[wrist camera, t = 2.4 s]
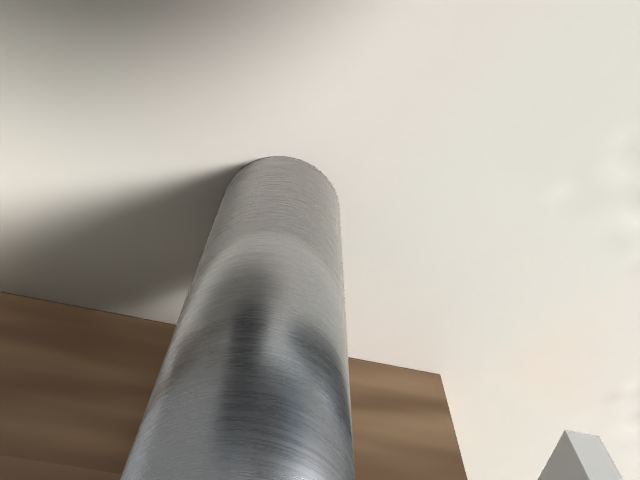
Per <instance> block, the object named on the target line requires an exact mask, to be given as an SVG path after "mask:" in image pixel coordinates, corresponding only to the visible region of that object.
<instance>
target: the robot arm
mask: <svg viewBox="0 0 640 480" xmlns="http://www.w3.org/2000/svg"><path fill="white" fill-rule="evenodd" d="M538 480H623V478H622V476H621V475H620V473H619V471H618V469H617V467H616V466H615V464H614V462H613V460H612V458H611V457H610V455H609V453H608V451H607V449H606V448H605V446H604V444H603V442H602V440H601V439H600V437H599V436H596V435H590V434H584V433H579V432H573V431H568V430H565V431H564V433H563V435H562V437H561V438H560V440H559V442H558V444H557V446H556V447H555V449H554V451H553V453H552V455H551V457H550V458H549V460H548V462H547V464H546V466H545V468H544V469H543V471H542V473H541V475H540V477H539V478H538Z"/></svg>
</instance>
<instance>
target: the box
mask: <svg viewBox="0 0 640 480" xmlns="http://www.w3.org/2000/svg"><path fill="white" fill-rule="evenodd" d="M175 328H176V325H172V324H167V323H162V322H156V321H151V320H146V319H140V318H135V317H130V316H124V315H119V314H114V313H108V312H103V311H98V310H92V309H87V308H82V307H76V306H71V305H66V304H60V303H55V302H50V301H44V300H39V299H34V298H28V297H23V296H18V295H12V294H7V293H2V292H0V480H120V478H121V476H122V473H123V470H124V468H125V465H126V462H127V459H128V457H129V454H130V451H131V448H132V446H133V443H134V440H135V437H136V435H137V432H138V429H139V426H140V424H141V421H142V418H143V415H144V413H145V410H146V407H147V404H148V402H149V399H150V396H151V393H152V391H153V388H154V385H155V382H156V380H157V377H158V374H159V371H160V369H161V366H162V363H163V360H164V358H165V355H166V352H167V349H168V347H169V344H170V341H171V339H172V336H173V333H174V330H175ZM348 367H349V384H350V402H351V419H352V436H353V454H354V471H355V480H467V476H466V472H465V469H464V465H463V461H462V457H461V453H460V449H459V445H458V442H457V438H456V434H455V430H454V426H453V422H452V418H451V415H450V411H449V407H448V403H447V399H446V395H445V391H444V388H443V384H442V380H441V376H440V375H438V374H433V373H428V372H423V371H417V370H412V369H407V368H401V367H396V366H391V365H385V364H380V363H375V362H369V361H364V360H359V359H353V358H348Z"/></svg>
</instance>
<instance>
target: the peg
mask: <svg viewBox="0 0 640 480" xmlns="http://www.w3.org/2000/svg"><path fill="white" fill-rule="evenodd" d="M120 480H355V471H354V454H353V436H352V419H351V402H350V384H349V367H348V349H347V332H346V314H345V297H344V280H343V262H342V245H341V227H340V210H339V202H338V198H337V195H336V192H335V190H334V188H333V186H332V184H331V183H330V181H329V180H328V179H327V177H326V176H325V175H324V174H323V173H322V172H321V171H319V170H318V169H317V168H315V167H314V166H312V165H310V164H309V163H307V162H304V161H302V160H299V159H295V158H291V157H284V156H275V157H267V158H263V159H259V160H257V161H254V162H252V163H250V164H248V165H246V166H245V167H244V168H242V169H241V170H240V171H239V172H238V173H237V174H235V176H234V177H233V178H232V179H231V181H230V183H229V184H228V186H227V188H226V191H225V193H224V196H223V199H222V201H221V204H220V207H219V210H218V212H217V215H216V218H215V220H214V223H213V226H212V229H211V231H210V234H209V237H208V240H207V242H206V245H205V248H204V251H203V253H202V256H201V259H200V262H199V264H198V267H197V270H196V273H195V275H194V278H193V281H192V284H191V286H190V289H189V292H188V295H187V297H186V300H185V303H184V306H183V308H182V311H181V314H180V317H179V319H178V322H177V325H176V328H175V330H174V333H173V336H172V339H171V341H170V344H169V347H168V349H167V352H166V355H165V358H164V360H163V363H162V366H161V369H160V371H159V374H158V377H157V380H156V382H155V385H154V388H153V391H152V393H151V396H150V399H149V402H148V404H147V407H146V410H145V413H144V415H143V418H142V421H141V424H140V426H139V429H138V432H137V435H136V437H135V440H134V443H133V446H132V448H131V451H130V454H129V457H128V459H127V462H126V465H125V468H124V470H123V473H122V476H121V478H120Z"/></svg>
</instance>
